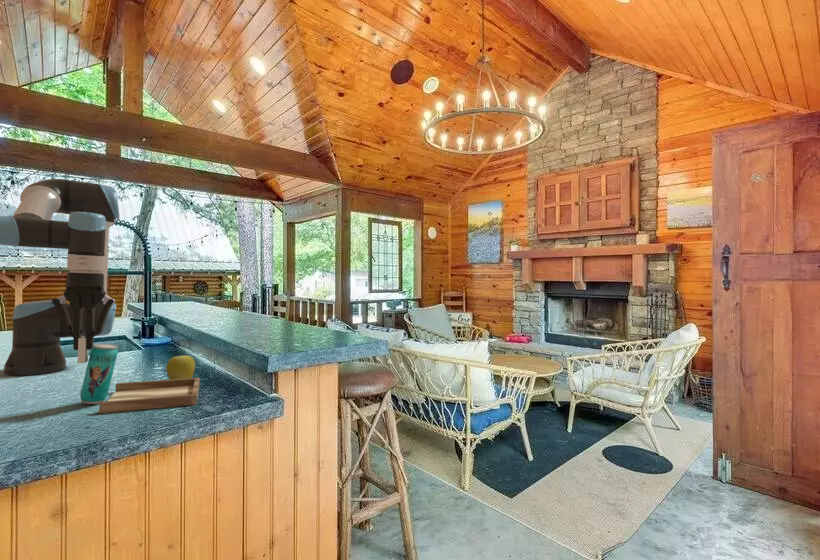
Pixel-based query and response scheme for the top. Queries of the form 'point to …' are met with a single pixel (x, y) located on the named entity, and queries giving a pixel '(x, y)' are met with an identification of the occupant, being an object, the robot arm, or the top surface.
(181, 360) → the apple
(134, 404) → the wooden tray
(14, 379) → the top surface
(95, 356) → the beverage can
